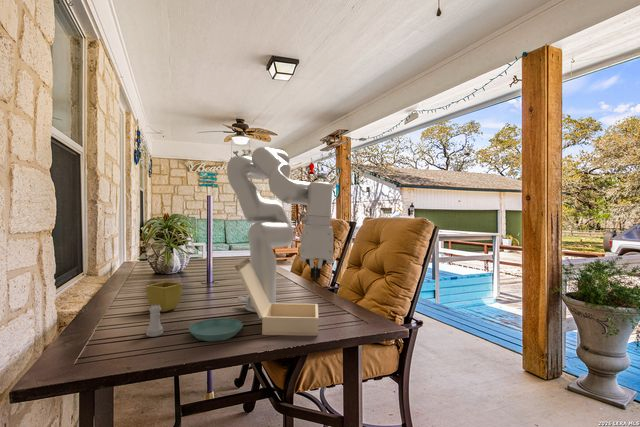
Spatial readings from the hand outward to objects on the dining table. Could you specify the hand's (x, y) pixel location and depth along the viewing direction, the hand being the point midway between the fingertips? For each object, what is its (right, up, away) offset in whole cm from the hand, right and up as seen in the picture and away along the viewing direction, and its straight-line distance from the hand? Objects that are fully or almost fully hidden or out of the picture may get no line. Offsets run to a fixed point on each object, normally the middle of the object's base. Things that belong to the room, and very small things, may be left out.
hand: (315, 280), depth 108 cm
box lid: (-19, -1, -1) cm, 19 cm away
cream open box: (-7, -14, -1) cm, 16 cm away
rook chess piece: (-45, -13, -11) cm, 48 cm away
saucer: (-28, -14, -9) cm, 33 cm away
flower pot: (-53, -13, +14) cm, 57 cm away
